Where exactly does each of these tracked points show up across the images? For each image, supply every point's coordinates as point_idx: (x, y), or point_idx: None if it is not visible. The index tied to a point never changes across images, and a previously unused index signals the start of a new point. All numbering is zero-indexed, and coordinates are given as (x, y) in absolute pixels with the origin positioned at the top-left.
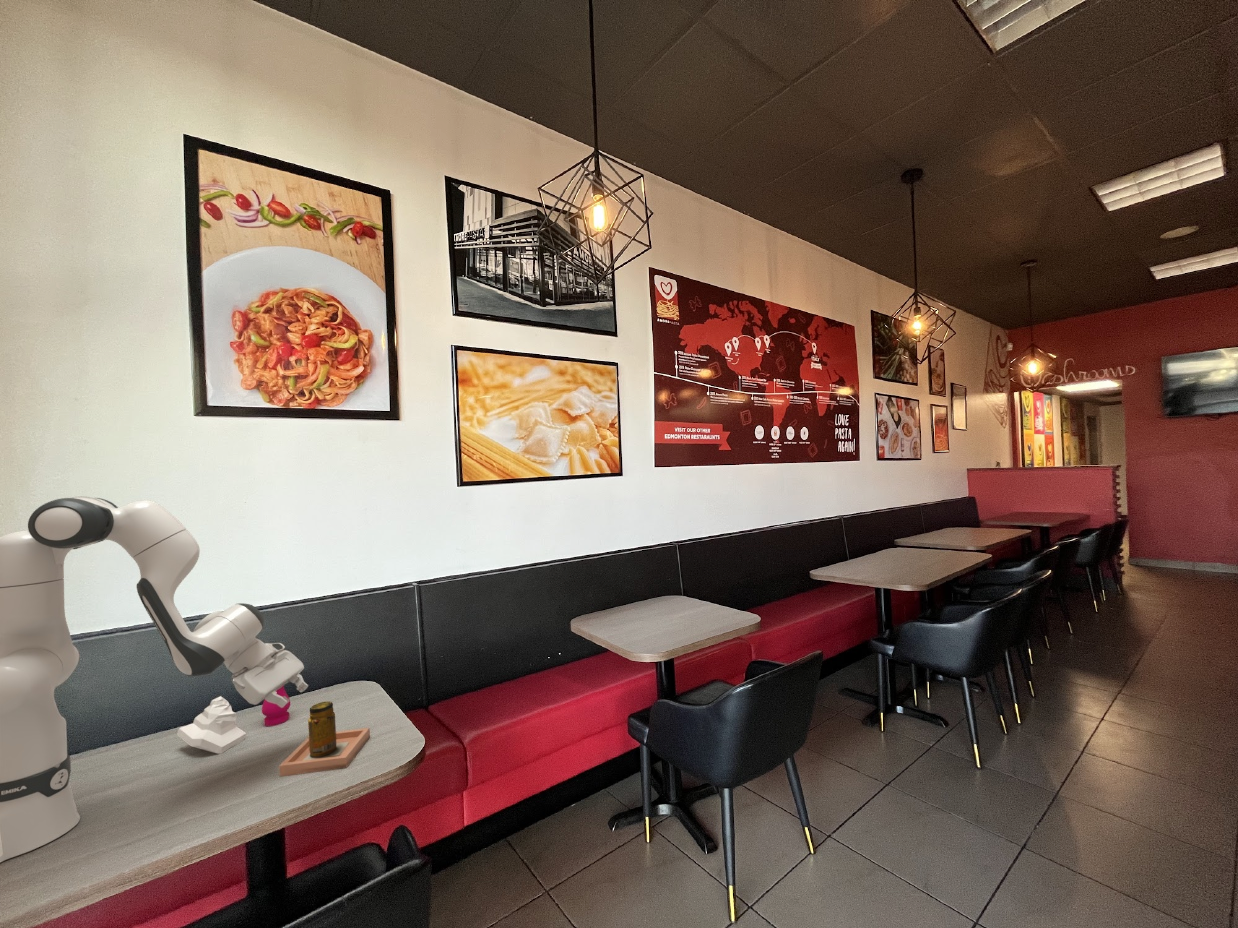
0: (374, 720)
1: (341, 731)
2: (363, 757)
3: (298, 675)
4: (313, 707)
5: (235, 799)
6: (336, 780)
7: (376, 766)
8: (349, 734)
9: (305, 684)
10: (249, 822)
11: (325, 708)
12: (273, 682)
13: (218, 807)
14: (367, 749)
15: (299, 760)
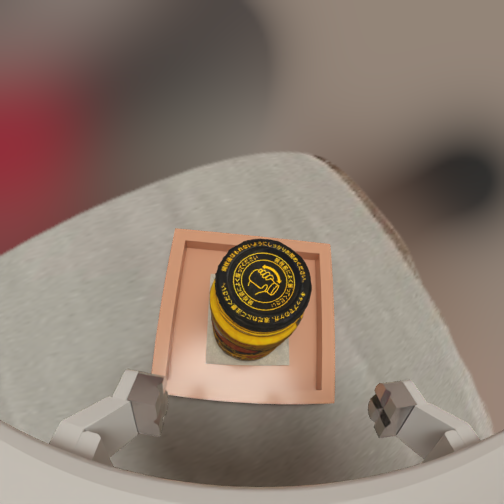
0: (84, 252)
1: (164, 299)
2: (284, 231)
3: (79, 440)
4: (278, 310)
5: (392, 443)
6: (366, 260)
7: (327, 201)
8: (180, 278)
9: (133, 382)
10: (456, 359)
11: (298, 254)
12: (470, 479)
13: (409, 456)
14: (247, 231)
15: (278, 378)
